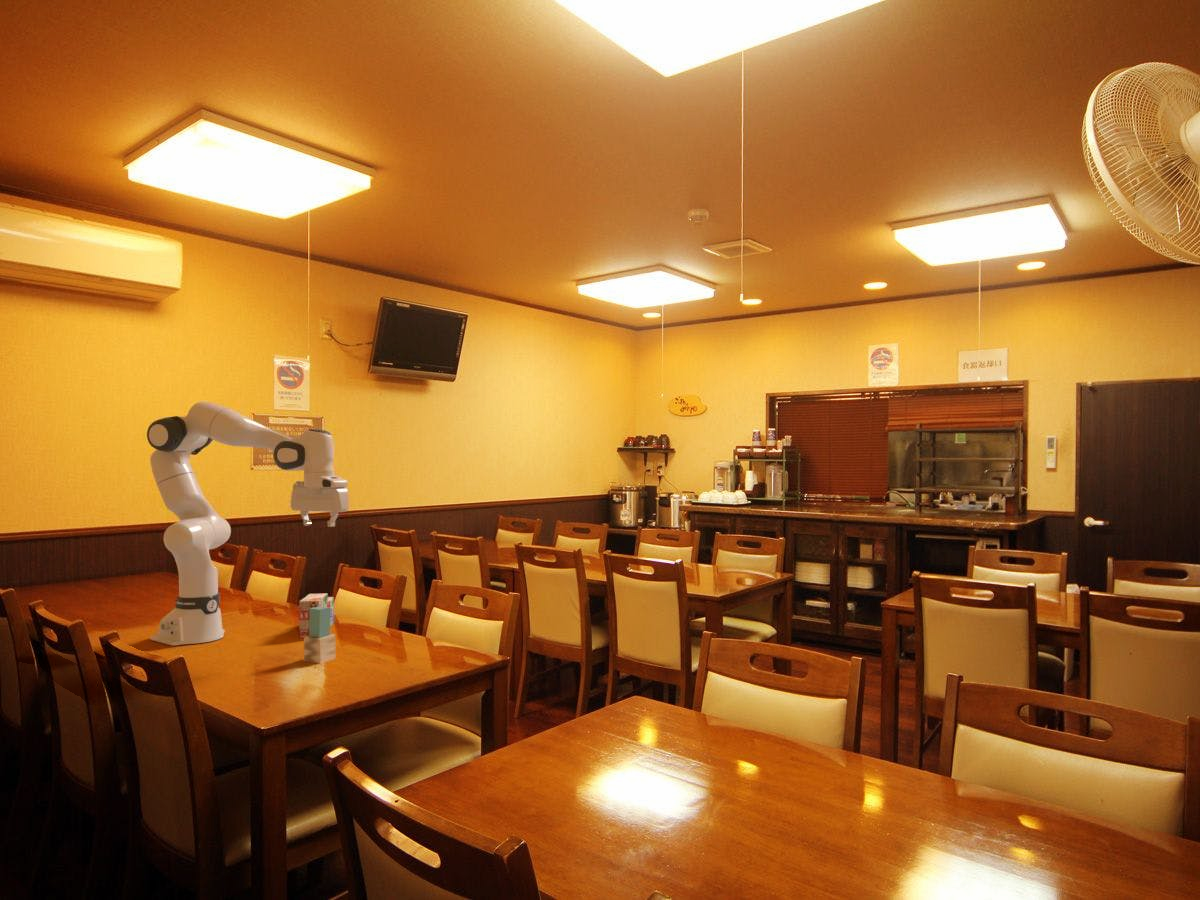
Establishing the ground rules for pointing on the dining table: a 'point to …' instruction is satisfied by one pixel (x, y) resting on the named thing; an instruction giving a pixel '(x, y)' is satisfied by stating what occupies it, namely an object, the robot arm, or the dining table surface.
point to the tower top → (319, 643)
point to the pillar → (319, 621)
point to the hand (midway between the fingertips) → (319, 525)
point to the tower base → (319, 655)
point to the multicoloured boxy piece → (312, 602)
